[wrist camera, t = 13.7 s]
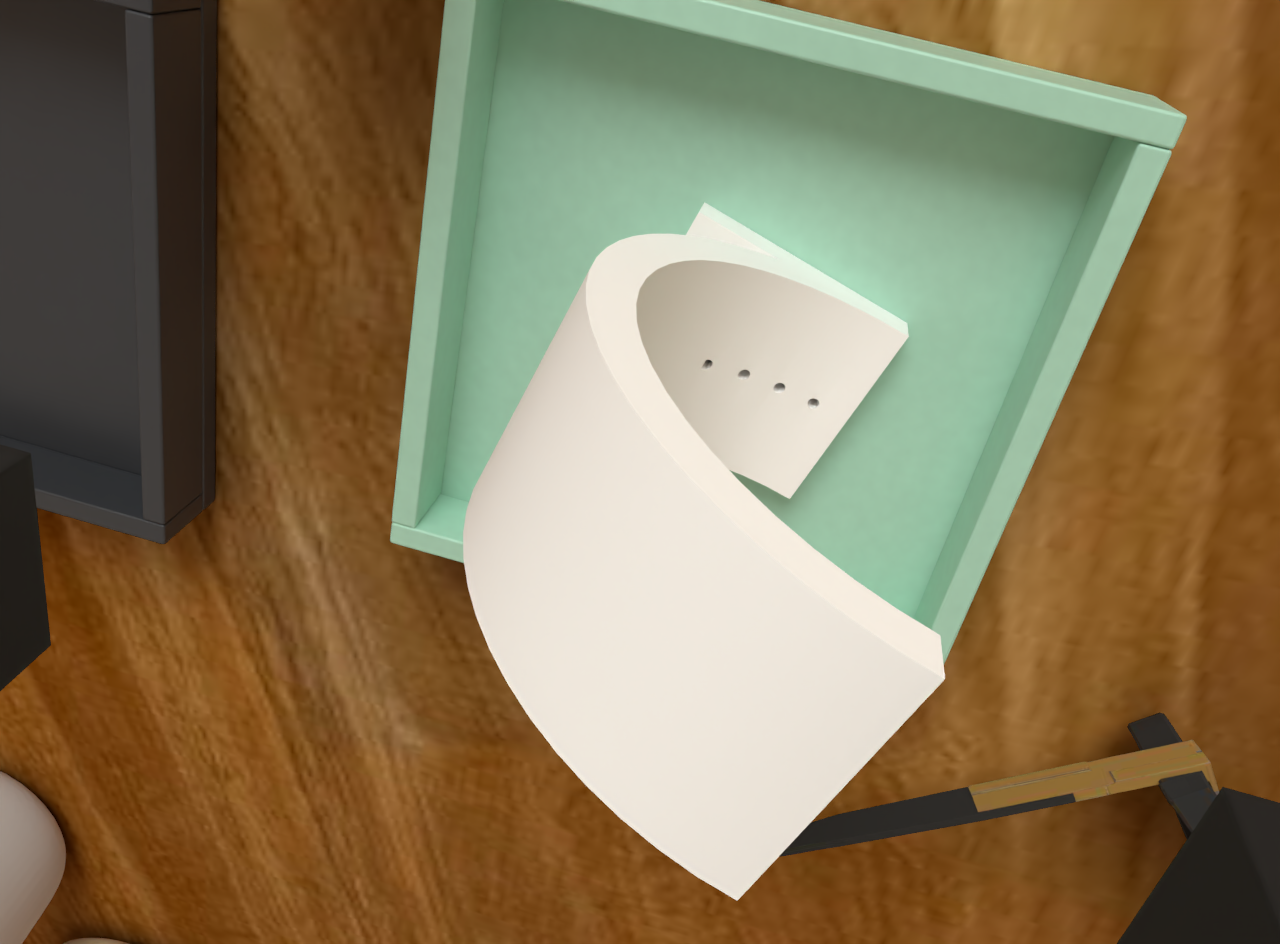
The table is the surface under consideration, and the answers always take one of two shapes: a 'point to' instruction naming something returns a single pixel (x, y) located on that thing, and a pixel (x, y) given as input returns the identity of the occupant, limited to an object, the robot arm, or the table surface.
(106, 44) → the charcoal tray
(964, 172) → the mint tray
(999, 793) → the sunglasses
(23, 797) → the cup
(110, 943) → the ladybug figurine
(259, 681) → the table surface
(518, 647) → the headphone stand
